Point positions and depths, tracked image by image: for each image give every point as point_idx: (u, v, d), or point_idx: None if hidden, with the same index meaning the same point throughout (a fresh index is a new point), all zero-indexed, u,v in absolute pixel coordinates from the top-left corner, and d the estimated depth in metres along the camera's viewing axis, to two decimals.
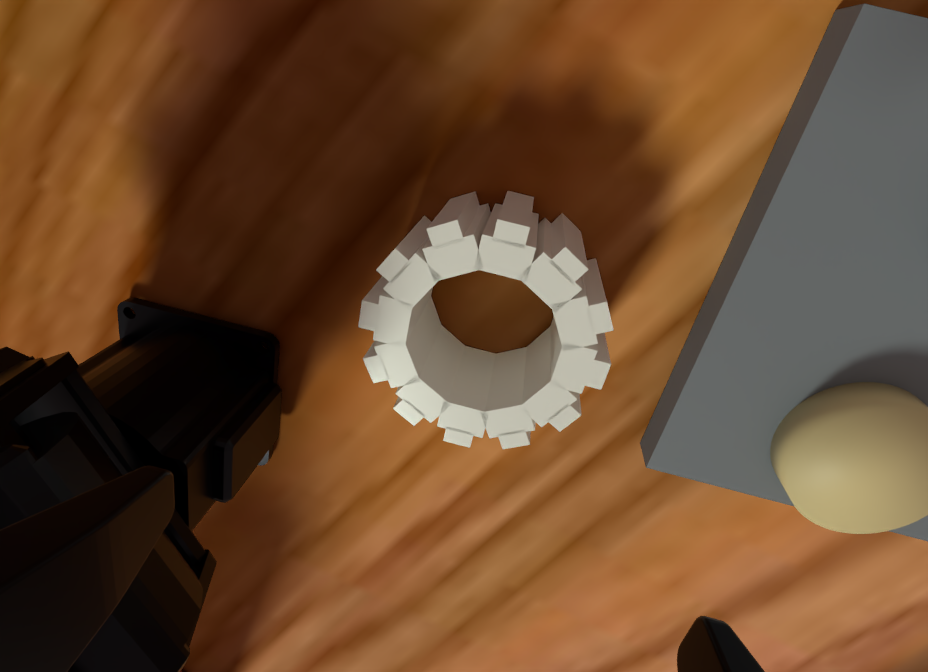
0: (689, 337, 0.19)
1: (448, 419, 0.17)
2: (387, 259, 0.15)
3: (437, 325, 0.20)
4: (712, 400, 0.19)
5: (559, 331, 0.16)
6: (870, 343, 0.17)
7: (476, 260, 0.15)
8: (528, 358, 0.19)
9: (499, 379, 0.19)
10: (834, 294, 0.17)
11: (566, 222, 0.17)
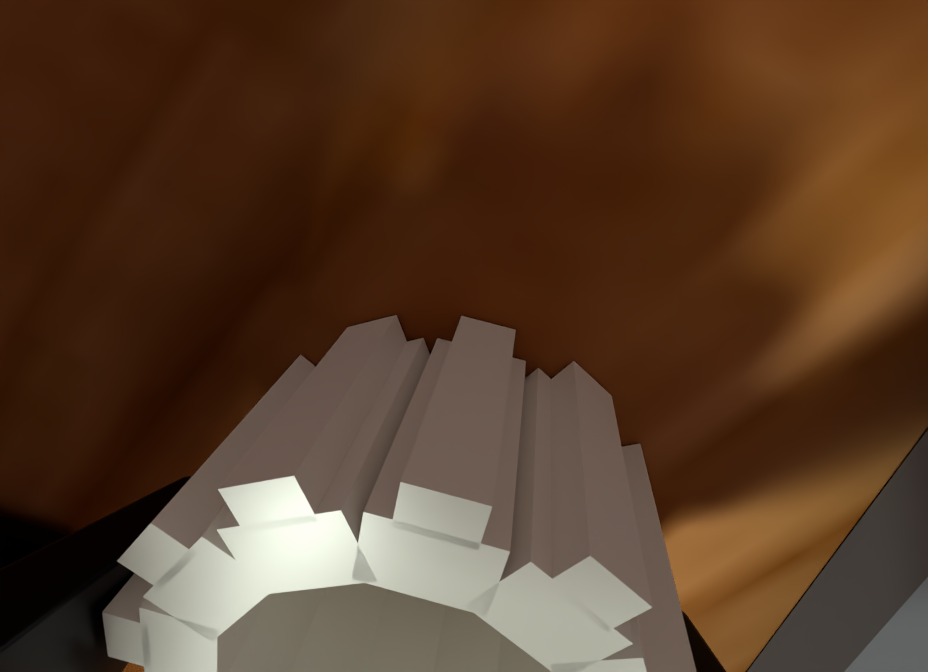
0: (819, 586, 0.10)
1: None
2: (137, 543, 0.06)
3: None
4: None
5: None
6: None
7: (356, 563, 0.06)
8: None
9: None
10: None
11: (584, 394, 0.08)
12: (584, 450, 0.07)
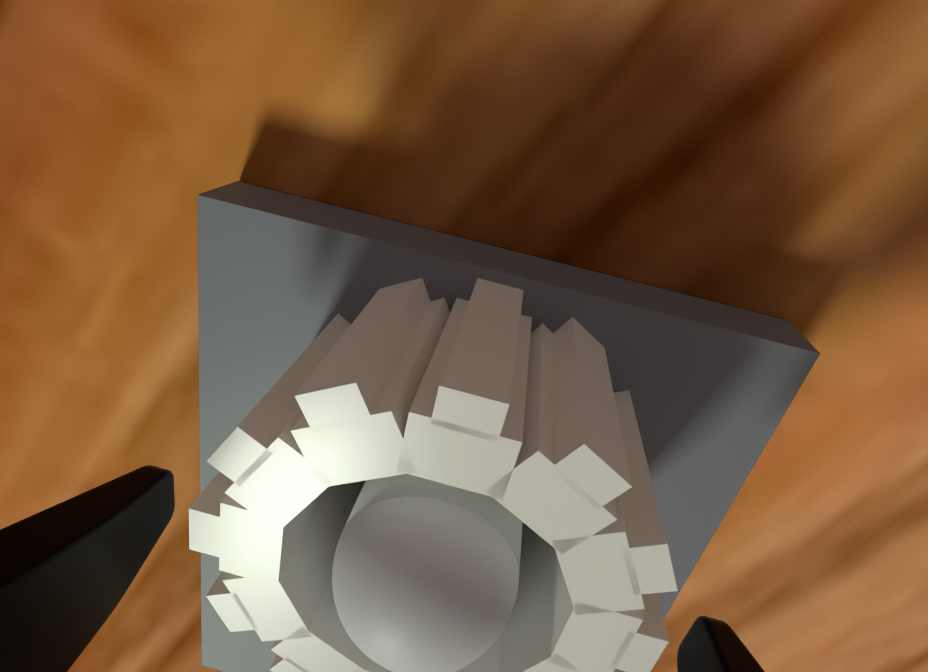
0: None
1: None
2: (225, 445, 0.08)
3: None
4: None
5: (569, 584, 0.08)
6: None
7: (400, 456, 0.07)
8: None
9: None
10: None
11: (580, 342, 0.10)
12: (580, 379, 0.08)
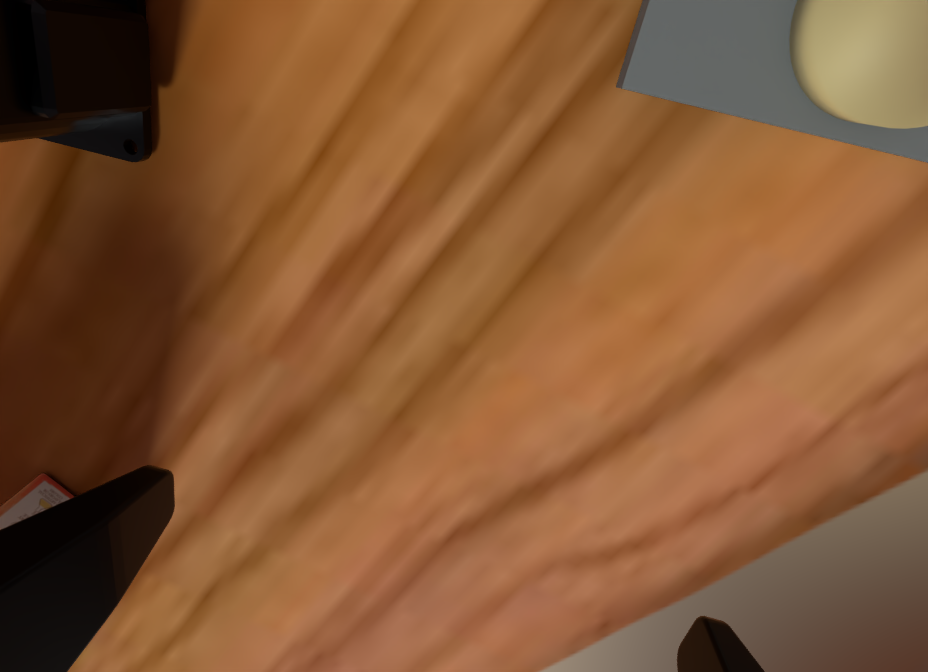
0: None
1: None
2: None
3: None
4: None
5: None
6: None
7: None
8: None
9: None
10: None
11: None
12: None
